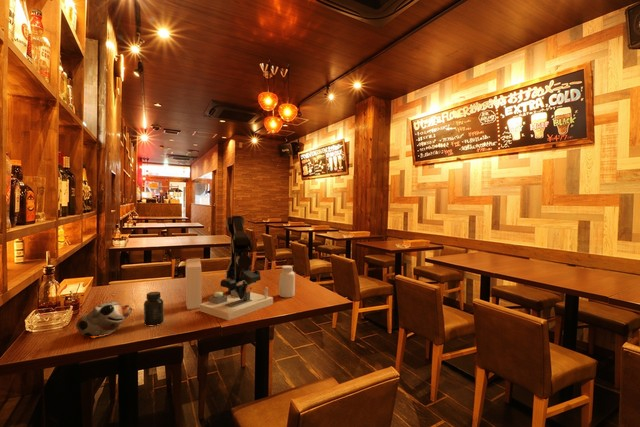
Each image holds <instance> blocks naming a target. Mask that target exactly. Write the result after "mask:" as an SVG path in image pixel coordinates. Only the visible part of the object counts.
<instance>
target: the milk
mask: <svg viewBox="0 0 640 427" xmlns="http://www.w3.org/2000/svg"><path fill="white" fill-rule="evenodd" d="M185 262H186V263H185V306H186V308H187V310H193V309H200V304H203V302H202V301H203V299H202V297H203V295H202V294H203V293H202V290H203V289H202V262H201V258H200V257H199V258H197V257H195V258H187V259H186V260H185Z"/></svg>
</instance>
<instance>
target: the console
mask: <svg viewBox="0 0 640 427" xmlns="http://www.w3.org/2000/svg"><path fill="white" fill-rule="evenodd" d="M268 289H269V287H267V286H265V287H264V295H263V294H259V293H255V292H251V291H250V300H248V301H245V300H243V299H240V298H239V296H238V294H237V292H235V290H232V291H231V294H229V295H224V294H223V297H221V298H214V295H211V296H209V301H206V302H202V304H200V308H199V312H201V313H205V314H208V315H210V316H213V317H216V318H220V319H223V320H226V321H227V322H228V321H232V320H234V319H236V318H239V317H242V316H245V315H247V314H248V315H249V314H250V313H253V312H255V311H258V310H261V309H264V308H266V307H269V306H271V305H274V297H272V296H269V292H268V291H269V290H268Z"/></svg>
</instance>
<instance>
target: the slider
mask: <svg viewBox="0 0 640 427" xmlns="http://www.w3.org/2000/svg"><path fill="white" fill-rule="evenodd" d="M250 292H251V289H246V291H245V294H244V297H243V300H245V301H248V300H250Z"/></svg>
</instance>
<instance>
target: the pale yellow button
mask: <svg viewBox="0 0 640 427" xmlns="http://www.w3.org/2000/svg"><path fill="white" fill-rule="evenodd" d="M223 295H224V293H223V292H222V291H215V292H214V293H213V296H214V298H221V297H223Z"/></svg>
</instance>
